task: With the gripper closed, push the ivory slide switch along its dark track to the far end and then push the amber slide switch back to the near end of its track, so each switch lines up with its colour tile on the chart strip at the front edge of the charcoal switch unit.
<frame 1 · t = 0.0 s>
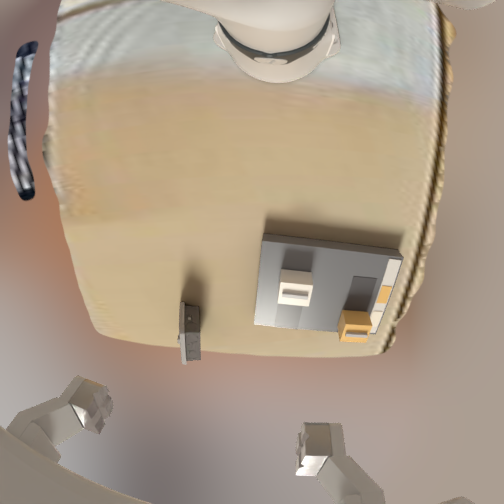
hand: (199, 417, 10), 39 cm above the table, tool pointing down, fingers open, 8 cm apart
switch unit: (325, 284, 51), on the table
amber slider: (354, 327, 48), point 5 cm above the table, slide at 7.0 cm
grey piece: (194, 318, 59), on the table
ivory slider: (294, 288, 46), point 5 cm above the table, slide at 0.0 cm
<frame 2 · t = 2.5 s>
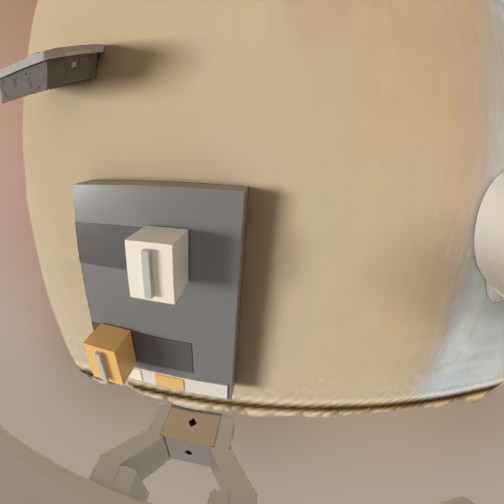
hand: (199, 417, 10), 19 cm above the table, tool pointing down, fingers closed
switch unit: (162, 293, 30), on the table
amber slider: (110, 355, 28), point 6 cm above the table, slide at 7.0 cm
grey piece: (74, 73, 23), on the table
ivory slider: (157, 264, 23), point 6 cm above the table, slide at 0.0 cm
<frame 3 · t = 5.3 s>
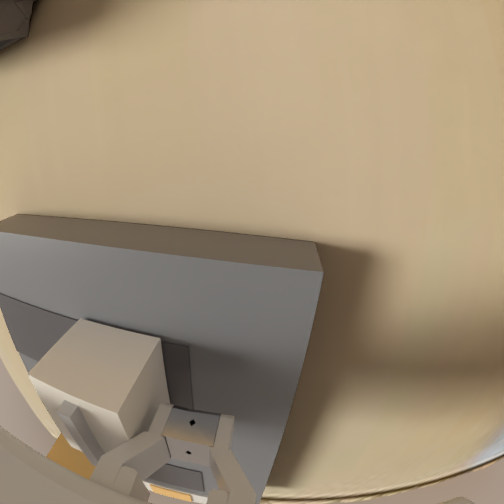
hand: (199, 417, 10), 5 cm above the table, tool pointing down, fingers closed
switch unit: (150, 398, 17), on the table
amber slider: (84, 471, 14), point 6 cm above the table, slide at 7.0 cm
grey piece: (4, 38, 9), on the table
ivory slider: (105, 405, 9), point 6 cm above the table, slide at 1.1 cm, touching gripper
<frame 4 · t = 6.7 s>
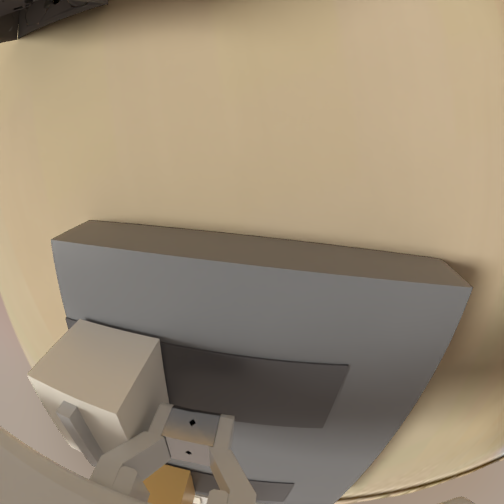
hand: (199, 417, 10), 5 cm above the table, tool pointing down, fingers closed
switch unit: (243, 417, 16), on the table
amber slider: (159, 499, 14), point 6 cm above the table, slide at 7.0 cm
grey piece: (65, 7, 9), on the table
ivory slider: (104, 405, 9), point 6 cm above the table, slide at 7.4 cm, touching gripper
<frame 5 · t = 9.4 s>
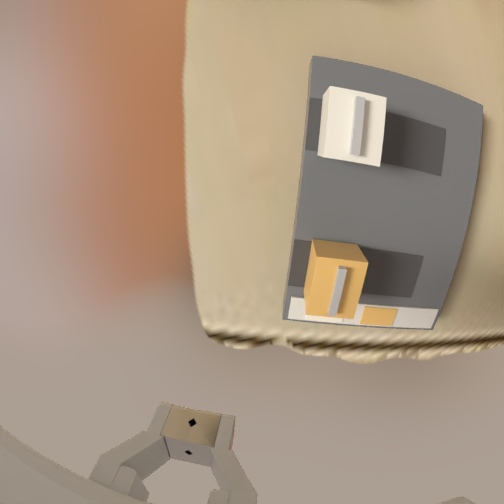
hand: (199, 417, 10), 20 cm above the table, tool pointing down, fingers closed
switch unit: (384, 202, 25), on the table
amber slider: (333, 279, 23), point 6 cm above the table, slide at 7.0 cm
ivory slider: (350, 127, 19), point 5 cm above the table, slide at 7.5 cm
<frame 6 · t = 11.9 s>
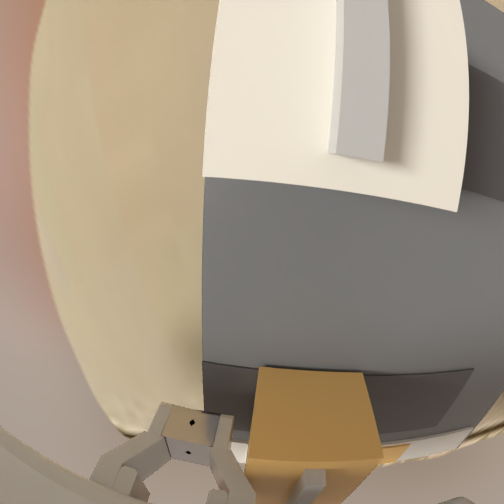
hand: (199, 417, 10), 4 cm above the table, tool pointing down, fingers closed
switch unit: (412, 263, 11), on the table
amber slider: (301, 454, 9), point 6 cm above the table, slide at 6.3 cm, touching gripper
ivory slider: (336, 59, 5), point 6 cm above the table, slide at 7.5 cm
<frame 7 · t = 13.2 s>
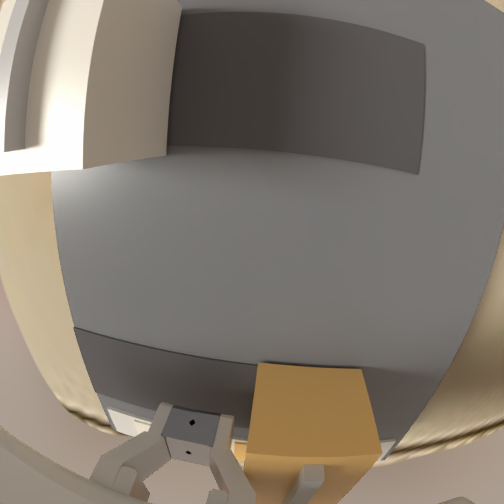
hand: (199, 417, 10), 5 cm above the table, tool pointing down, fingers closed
switch unit: (276, 244, 12), on the table
amber slider: (300, 450, 9), point 5 cm above the table, slide at 0.2 cm, touching gripper
ivory slider: (70, 69, 5), point 6 cm above the table, slide at 7.5 cm
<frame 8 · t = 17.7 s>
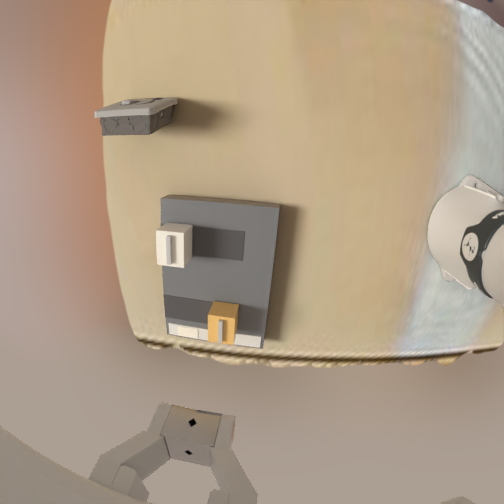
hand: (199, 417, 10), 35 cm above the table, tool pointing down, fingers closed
switch unit: (218, 272, 47), on the table
amber slider: (223, 323, 44), point 5 cm above the table, slide at 0.0 cm
grey piece: (151, 115, 39), on the table
ivory slider: (174, 245, 40), point 6 cm above the table, slide at 7.5 cm
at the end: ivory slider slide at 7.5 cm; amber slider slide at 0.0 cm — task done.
